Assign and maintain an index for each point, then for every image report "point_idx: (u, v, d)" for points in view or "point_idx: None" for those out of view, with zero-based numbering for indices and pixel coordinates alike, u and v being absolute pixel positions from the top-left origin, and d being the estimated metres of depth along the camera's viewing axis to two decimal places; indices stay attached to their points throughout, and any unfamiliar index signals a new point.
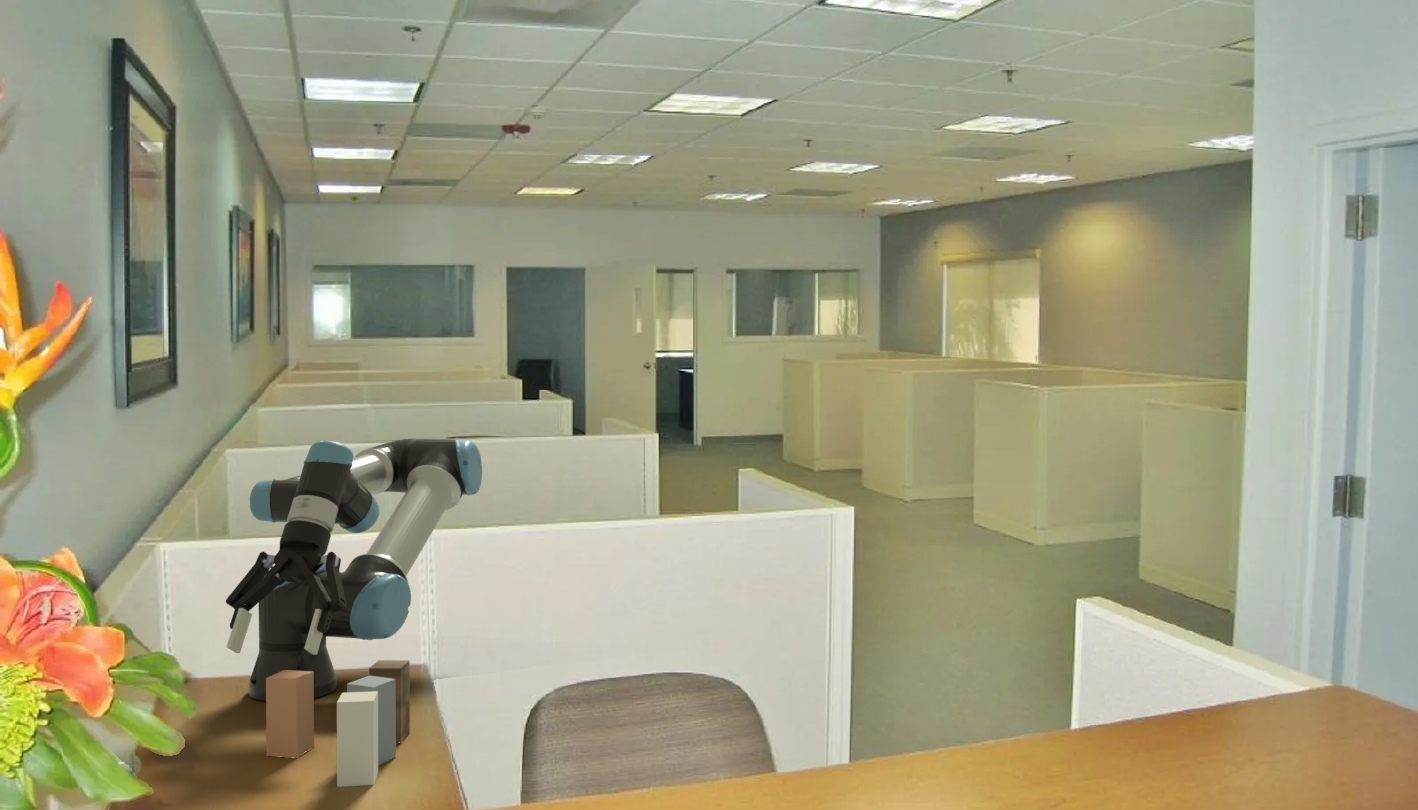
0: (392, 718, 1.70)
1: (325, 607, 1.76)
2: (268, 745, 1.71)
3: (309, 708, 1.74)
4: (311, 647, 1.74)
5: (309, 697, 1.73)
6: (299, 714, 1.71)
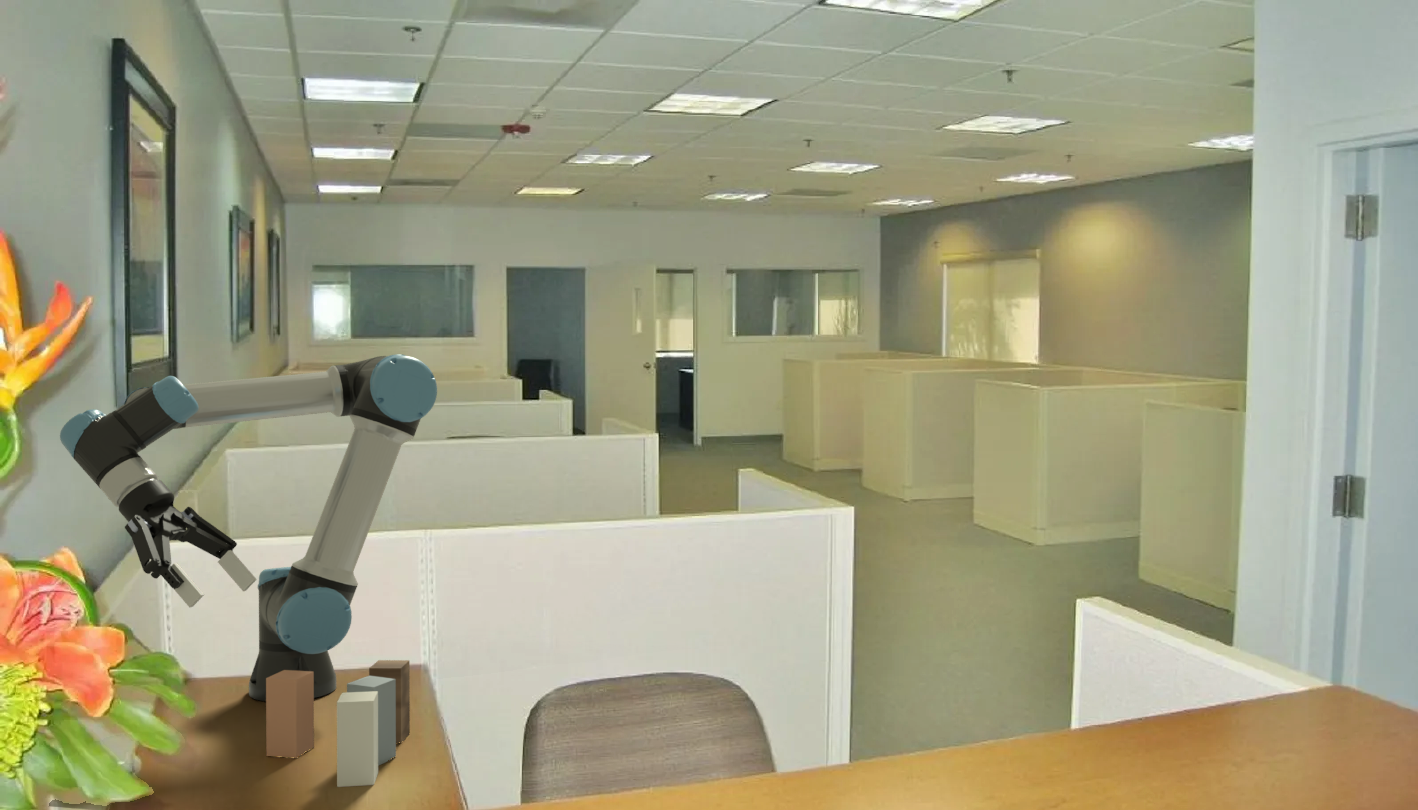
0: (392, 718, 1.70)
1: (156, 575, 1.67)
2: (268, 745, 1.71)
3: (309, 708, 1.74)
4: (190, 602, 1.67)
5: (309, 697, 1.73)
6: (299, 714, 1.71)
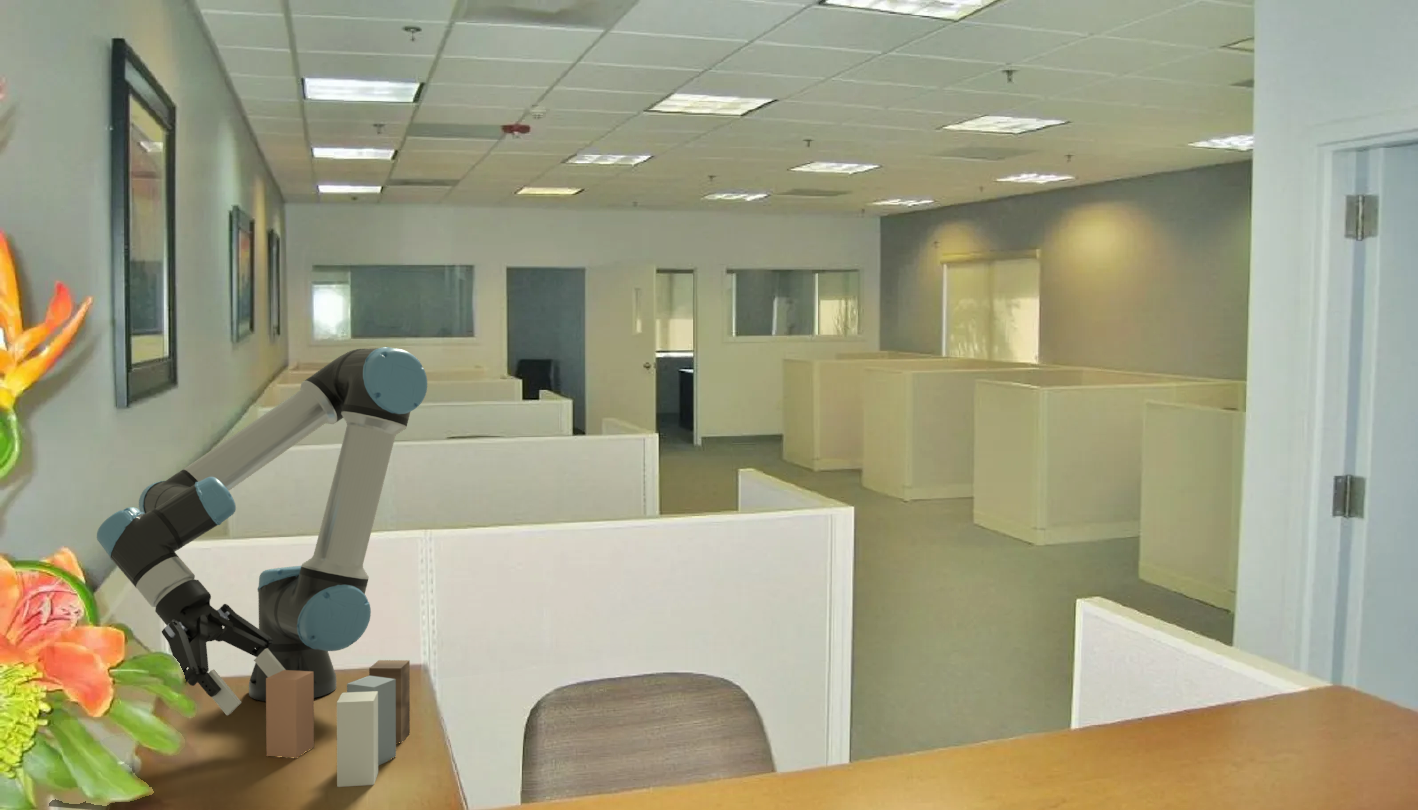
0: (392, 718, 1.70)
1: (194, 683, 1.65)
2: (268, 745, 1.71)
3: (309, 708, 1.73)
4: (227, 710, 1.65)
5: (309, 697, 1.73)
6: (299, 714, 1.71)
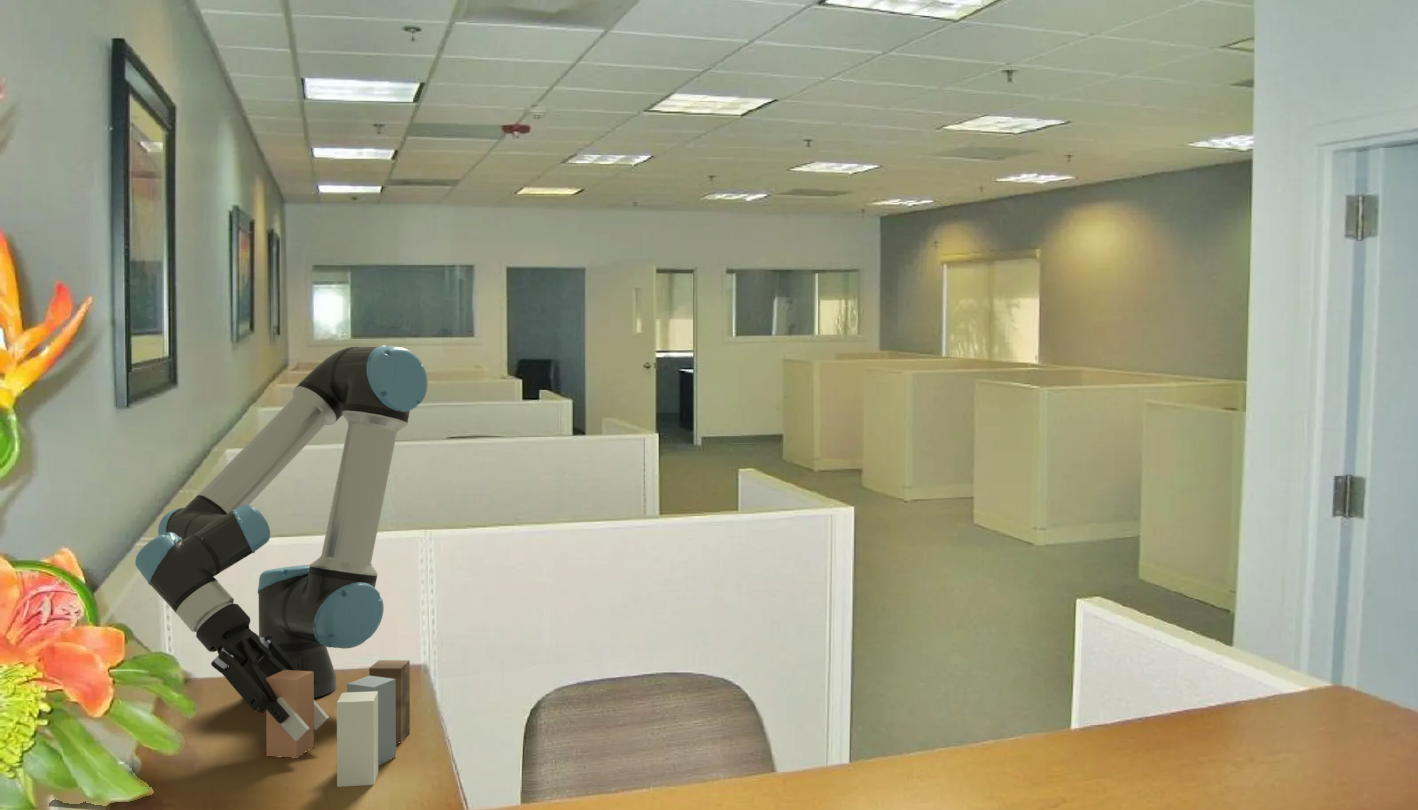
0: (392, 718, 1.70)
1: (264, 710, 1.69)
2: (268, 745, 1.71)
3: (309, 708, 1.73)
4: (296, 736, 1.69)
5: (309, 697, 1.73)
6: (299, 714, 1.71)
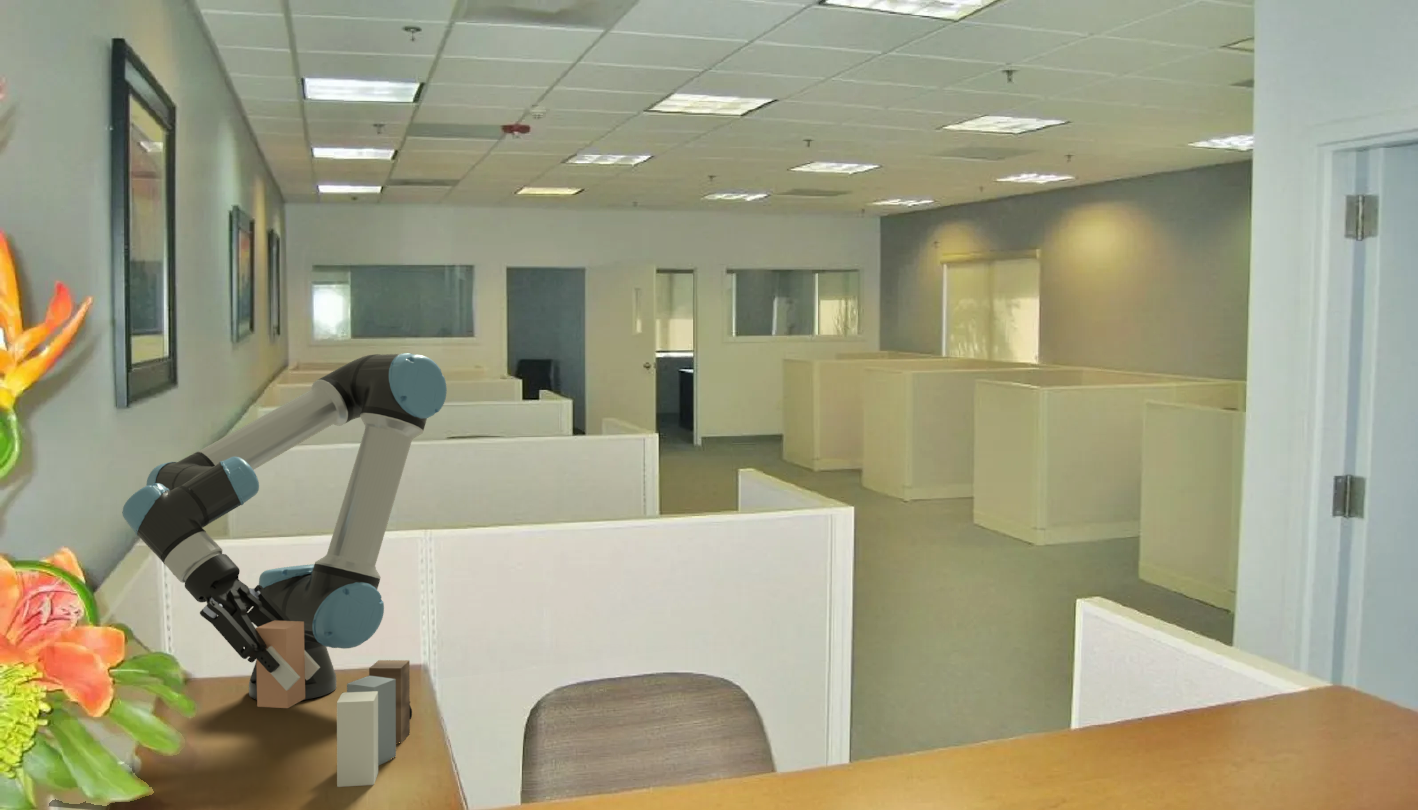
0: (392, 718, 1.70)
1: (254, 659, 1.68)
2: (259, 695, 1.69)
3: (300, 658, 1.72)
4: (287, 685, 1.68)
5: (299, 647, 1.72)
6: (289, 664, 1.69)
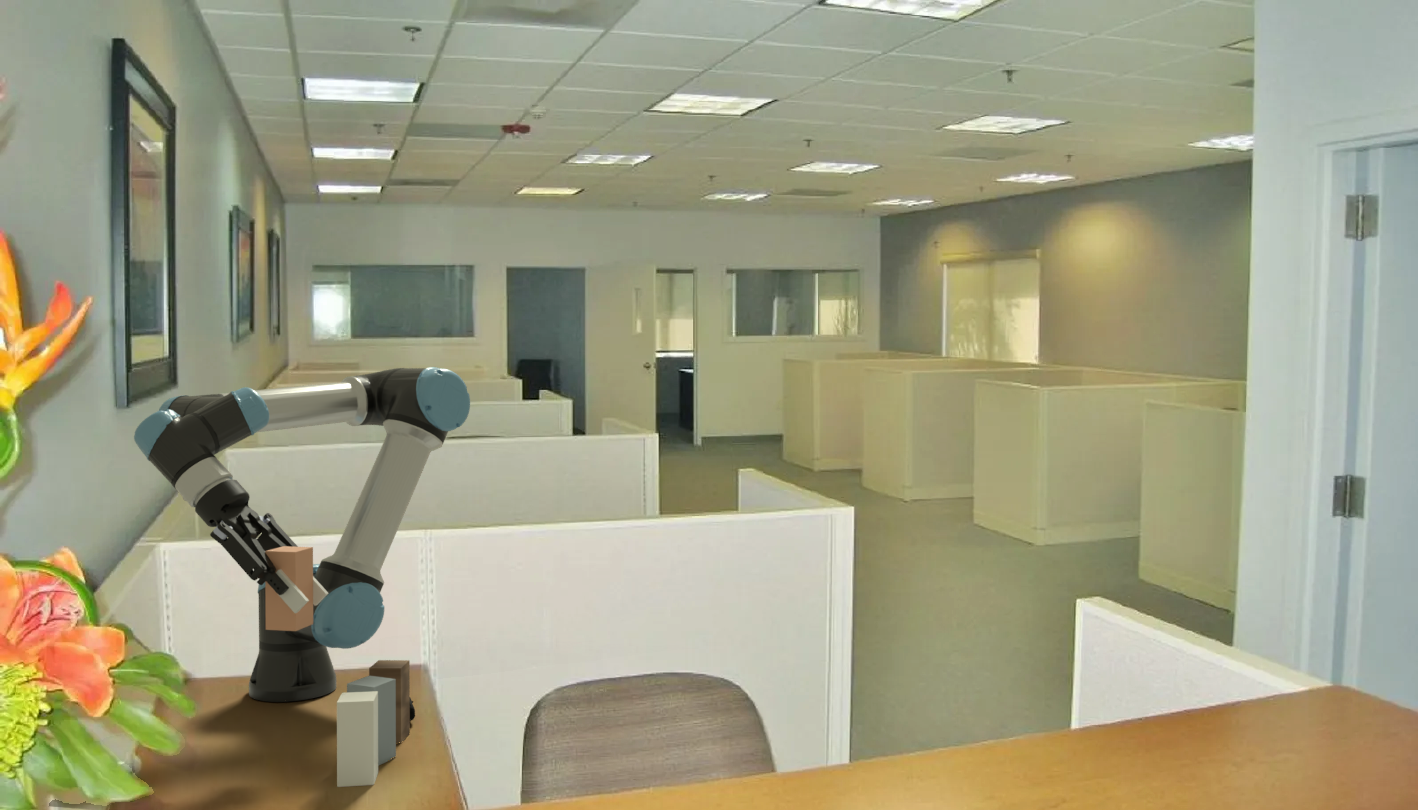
0: (392, 718, 1.70)
1: (263, 582, 1.69)
2: (267, 618, 1.70)
3: (308, 583, 1.73)
4: (296, 608, 1.69)
5: (308, 572, 1.73)
6: (298, 587, 1.70)
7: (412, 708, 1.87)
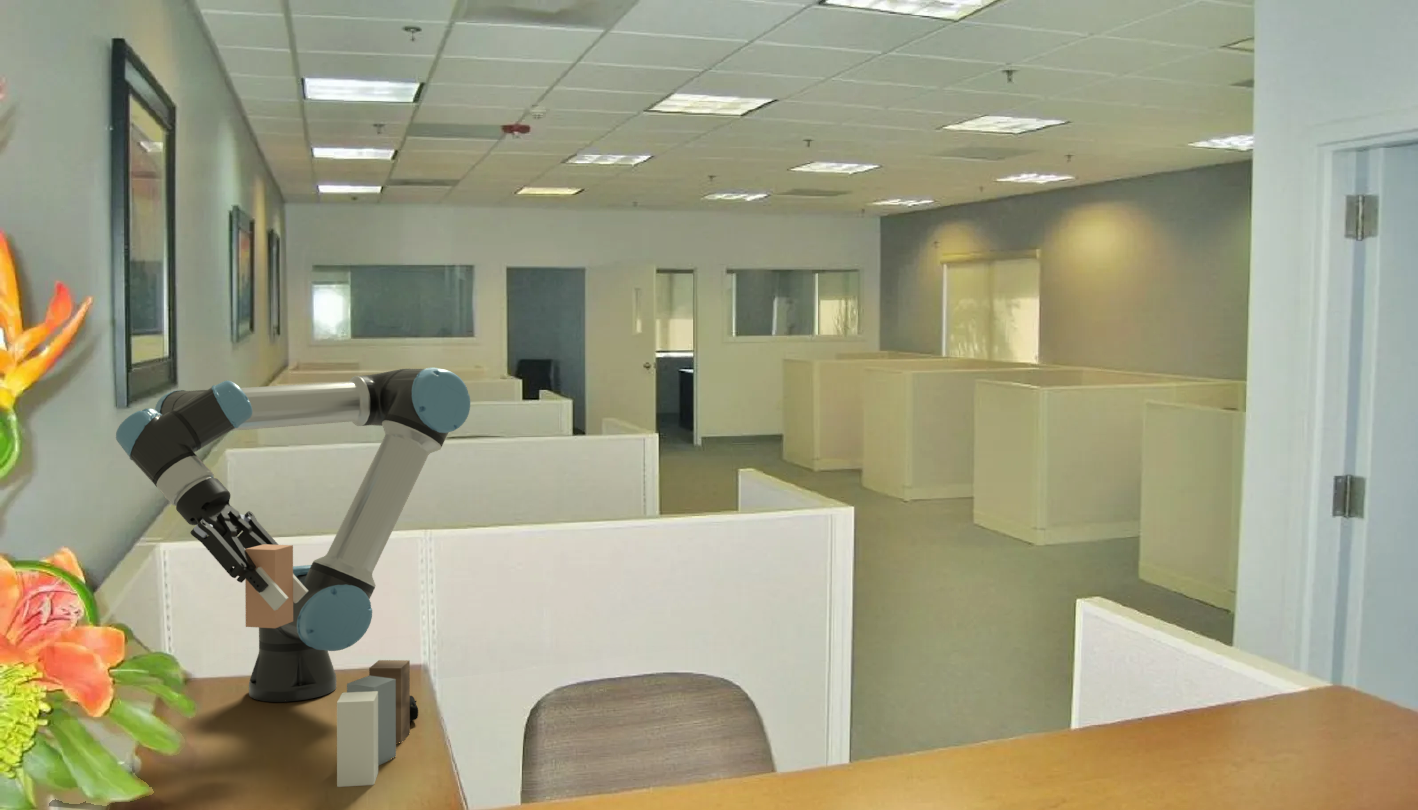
0: (392, 718, 1.70)
1: (243, 579, 1.70)
2: (247, 615, 1.72)
3: (288, 581, 1.75)
4: (275, 605, 1.70)
5: (288, 570, 1.75)
6: (278, 585, 1.72)
7: (415, 708, 1.87)
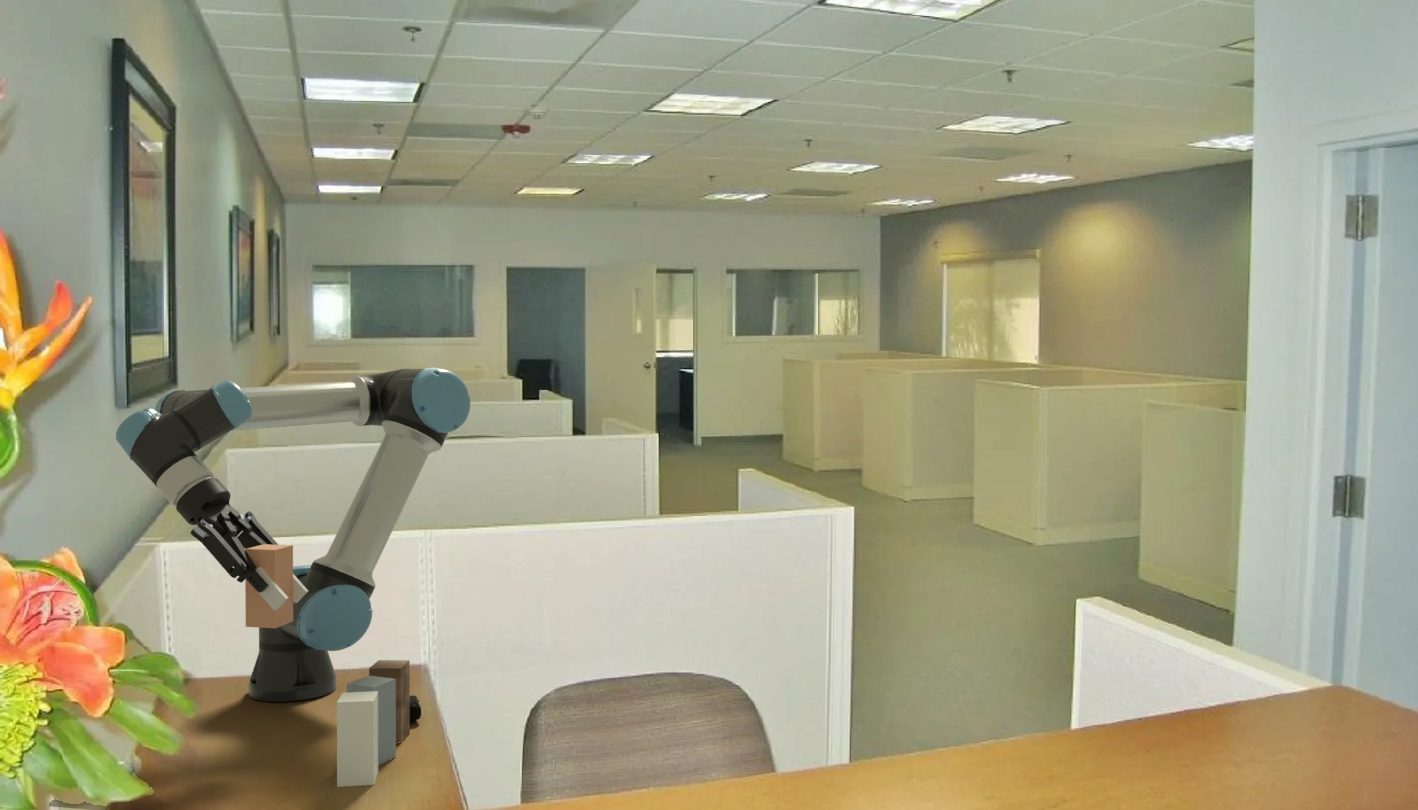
0: (392, 718, 1.70)
1: (243, 579, 1.70)
2: (247, 615, 1.72)
3: (288, 581, 1.75)
4: (275, 605, 1.70)
5: (288, 570, 1.75)
6: (278, 585, 1.72)
7: (418, 707, 1.87)
